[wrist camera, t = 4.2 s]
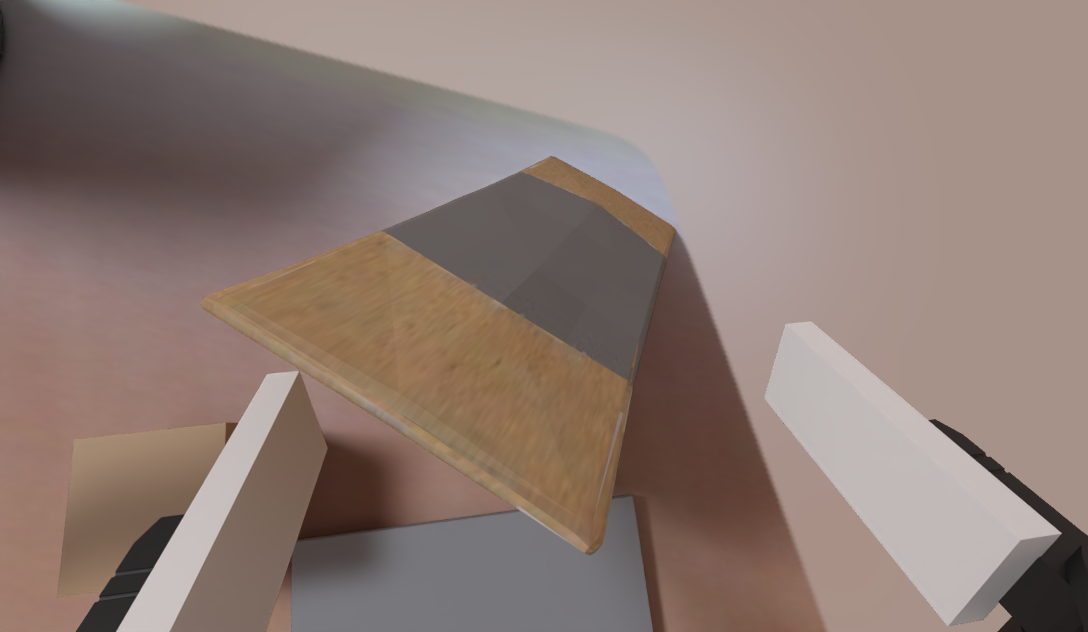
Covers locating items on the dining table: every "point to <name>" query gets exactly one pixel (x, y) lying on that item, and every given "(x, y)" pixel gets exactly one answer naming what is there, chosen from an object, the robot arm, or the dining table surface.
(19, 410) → the dining table surface
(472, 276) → the sandwich container
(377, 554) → the grey rubber mat
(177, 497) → the wooden letter cube
